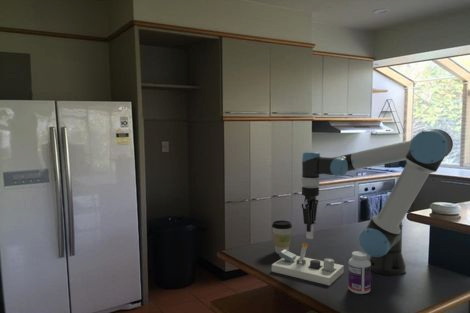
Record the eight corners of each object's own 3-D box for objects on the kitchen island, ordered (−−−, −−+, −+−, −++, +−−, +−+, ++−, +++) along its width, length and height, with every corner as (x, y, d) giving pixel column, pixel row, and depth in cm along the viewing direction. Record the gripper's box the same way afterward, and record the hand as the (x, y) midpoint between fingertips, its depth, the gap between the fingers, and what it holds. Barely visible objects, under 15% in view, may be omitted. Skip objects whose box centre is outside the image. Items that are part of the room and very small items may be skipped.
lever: (305, 263, 165) (309, 243, 168) (302, 262, 163) (307, 242, 166) (299, 262, 166) (303, 242, 169) (297, 260, 164) (301, 241, 167)
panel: (343, 272, 162) (343, 261, 162) (329, 285, 149) (329, 274, 149) (289, 260, 177) (288, 250, 177) (271, 271, 164) (271, 261, 164)
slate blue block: (295, 259, 169) (296, 254, 168) (290, 262, 165) (291, 257, 165) (283, 253, 172) (284, 248, 171) (278, 256, 168) (280, 251, 168)
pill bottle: (365, 285, 149) (366, 249, 147) (374, 294, 141) (374, 257, 139) (345, 286, 148) (345, 250, 147) (352, 295, 140) (352, 257, 139)
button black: (321, 270, 162) (321, 261, 161) (317, 273, 158) (317, 264, 158) (312, 268, 164) (312, 259, 164) (308, 271, 161) (308, 262, 160)
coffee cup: (291, 256, 183) (291, 225, 181) (271, 255, 185) (270, 224, 183) (292, 249, 192) (292, 220, 191) (273, 248, 194) (272, 219, 193)
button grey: (335, 269, 158) (335, 259, 158) (331, 272, 155) (331, 262, 154) (325, 267, 160) (325, 257, 160) (321, 270, 157) (322, 260, 157)
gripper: (308, 183, 177) (308, 233, 179) (296, 187, 167) (295, 240, 169) (324, 185, 173) (323, 236, 175) (312, 189, 162) (311, 243, 164)
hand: (309, 238), depth 172 cm, fingers closed
